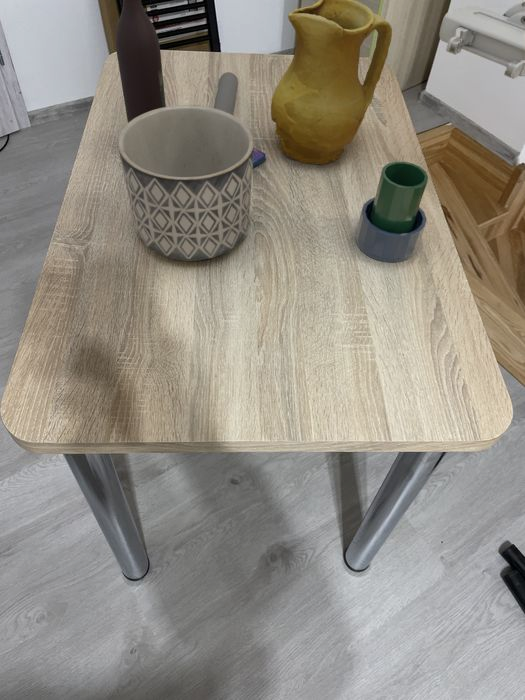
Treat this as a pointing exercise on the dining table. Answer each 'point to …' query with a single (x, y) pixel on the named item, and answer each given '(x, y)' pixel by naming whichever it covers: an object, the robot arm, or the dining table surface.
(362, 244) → the wide cup
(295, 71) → the pitcher
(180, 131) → the planter
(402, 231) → the slim cup
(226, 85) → the gray half cylinder
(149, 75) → the wine bottle
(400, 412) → the dining table surface
